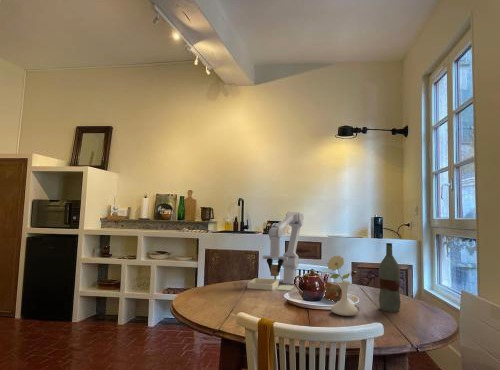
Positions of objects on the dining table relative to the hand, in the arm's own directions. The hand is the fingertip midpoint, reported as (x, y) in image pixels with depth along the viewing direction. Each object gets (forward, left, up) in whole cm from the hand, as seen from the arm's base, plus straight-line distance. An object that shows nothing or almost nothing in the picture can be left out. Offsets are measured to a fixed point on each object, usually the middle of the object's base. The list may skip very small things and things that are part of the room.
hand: (274, 272), depth 211 cm
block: (0, 0, -2) cm, 2 cm away
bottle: (+27, +60, -9) cm, 67 cm away
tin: (+18, +33, -9) cm, 39 cm away
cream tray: (0, -7, -9) cm, 11 cm away
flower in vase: (+43, +40, -9) cm, 60 cm away
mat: (0, +6, -9) cm, 11 cm away
